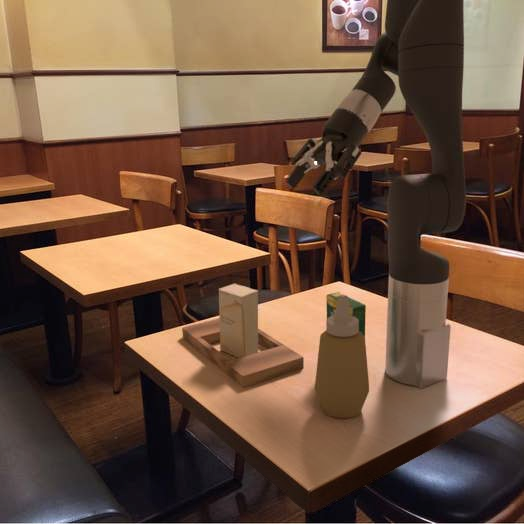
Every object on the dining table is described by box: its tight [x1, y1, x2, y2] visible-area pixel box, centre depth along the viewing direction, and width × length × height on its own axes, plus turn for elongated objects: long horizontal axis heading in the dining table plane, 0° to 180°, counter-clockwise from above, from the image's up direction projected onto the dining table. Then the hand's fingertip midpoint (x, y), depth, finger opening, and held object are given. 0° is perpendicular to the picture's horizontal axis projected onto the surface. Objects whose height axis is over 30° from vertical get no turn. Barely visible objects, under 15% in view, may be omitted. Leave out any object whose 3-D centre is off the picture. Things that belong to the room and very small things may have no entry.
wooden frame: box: [181, 318, 305, 388], centre depth 106 cm, size 24×12×2 cm, turn 32°
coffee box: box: [325, 291, 367, 337], centre depth 95 cm, size 8×3×13 cm, turn 25°
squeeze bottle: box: [314, 294, 370, 419], centre depth 83 cm, size 8×8×18 cm
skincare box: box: [218, 283, 259, 359], centre depth 104 cm, size 6×4×12 cm
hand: (302, 188), depth 105 cm, fingers open, 8 cm apart
